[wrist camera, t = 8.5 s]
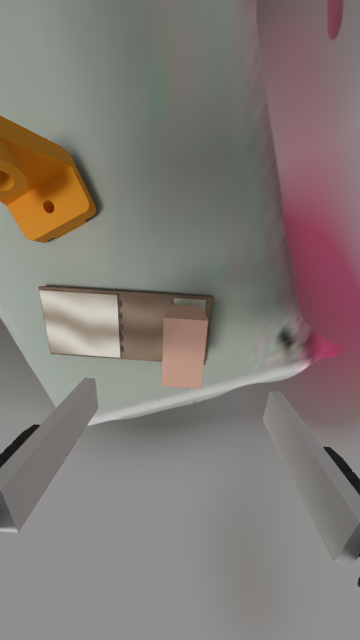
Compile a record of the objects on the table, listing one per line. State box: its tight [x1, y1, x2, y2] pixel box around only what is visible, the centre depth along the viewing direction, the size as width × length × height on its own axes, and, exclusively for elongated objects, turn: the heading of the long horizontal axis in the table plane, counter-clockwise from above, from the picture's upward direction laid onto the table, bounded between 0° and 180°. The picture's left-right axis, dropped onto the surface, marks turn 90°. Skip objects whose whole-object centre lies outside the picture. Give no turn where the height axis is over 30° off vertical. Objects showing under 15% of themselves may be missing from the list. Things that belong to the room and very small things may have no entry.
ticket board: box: [39, 286, 213, 365], centre depth 29 cm, size 12×28×2 cm, turn 87°
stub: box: [162, 305, 208, 389], centre depth 24 cm, size 9×5×8 cm, turn 177°
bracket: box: [0, 116, 96, 242], centre depth 19 cm, size 11×7×12 cm, turn 113°
